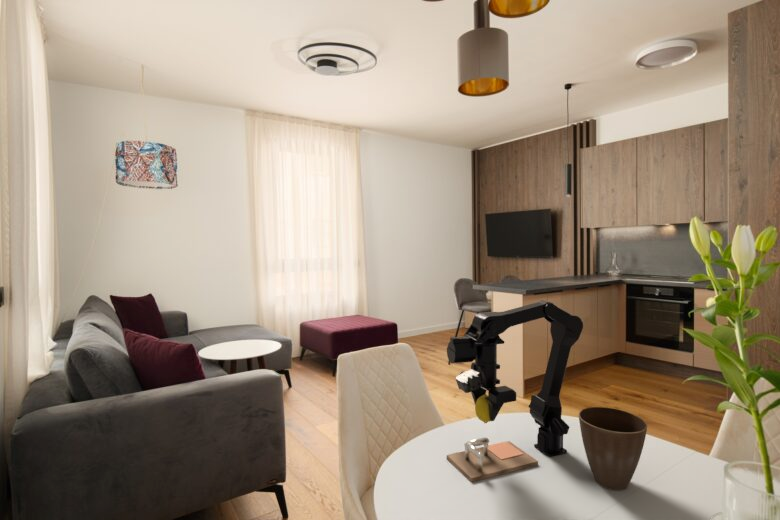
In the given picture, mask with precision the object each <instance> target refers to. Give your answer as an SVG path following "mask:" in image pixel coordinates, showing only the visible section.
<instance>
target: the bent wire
mask: <svg viewBox="0 0 780 520" xmlns="http://www.w3.org/2000/svg"><path fill="white" fill-rule="evenodd" d="M489 443H490V439H489V438H488V437H482V438H477V439H472V440H467V441H465V442H464V451H465V460H469V456H470V451H471V452H472V453H473V454H474V455H475V456H477V457H478V471H479V472H482V471H483V456H488V445H489ZM479 446H483V447H484V455H483V453H482V452H481V451H479V450H478V449H477V448H478V447H479Z"/></svg>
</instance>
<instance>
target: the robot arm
mask: <svg viewBox="0 0 780 520" xmlns="http://www.w3.org/2000/svg"><path fill="white" fill-rule="evenodd" d="M542 318H543V319H544V320H545V321H546V322H549V323H550V329H549V330H550V335H551V340H552V343H551V348H550V352H549V356H548V361H547V363H546V370H545V374H544V377H543V382H542V386H541V389H540V391H539V392H538V393H537V394H533V393H532V394H531V395H530V396H531V397H530V403H529V404H528V408H529V414H530V415H531V417H532V418H533V420H534V423H535V424H536V425H539V427H538V433H537V437H536V438H537V443H535V444H533V446H534V447H535V448H536V449H537V450H539V451H541V452H542V453H544V454H545V455H547V456H548V457H554V456H557V455H558V456H559V455H562V454H566V453H568V450H567V449H566V448H564V435H567V434H568V433H569V429H570V426H569V424H567V423H566V422H565V420H564V419H562V413H563V412H562V409H563V408H562V403H561V398H560V395H561V390H562V385H563V382H564V379H565V374H566V371H567V370H566V369H567V366H568V362H569V357H570V354H571V353H570V352H571V349H572V347H573V346H574V344H575V343H576V342H578V341H579V339H580V336H581V334H582V332H583V330H584V322H583V321H582V318H580V317H579V316H578V315H574V314H570V313H569V312H567V311H565V310H564V309H562V308H560V307H558V306H557V305H555V303H553V302H550V301H547V300H539V301H537V302H533V303H529V304H526V305H523V306H519V307H515V308H512V309H508V310H504V311H484V312H478V313H476V314H475V315H474V317H473V319H472V322H471V324H470V326H469V327H468V328H467V330H466V331H465V333H464V335H463V336H451V337H450V338H449V341H448V344H447V347H446V355H447V359H448V361H449V363H450V364H452V365H453V364H461V363H462V364H463V363H471V365H470V369H468V370H465V371H461V372H460V373H459V374H458V375H456V377H455V382H456V385H457V386H458V389H459V390H461V391H462V392H464V393H465V394H469V393H471V396H472V398H473V403H474V405H476V401H477V399H478V398H479V397H480V396H482V395H484V394H487V392H488V394H487V395H488V396H489V397H486V398H484V399H485V400H486V401H487V402H488V404H489V416H490V421H489V422H494V421H496V418H497V416H498V414H499V412H500V410H501V409H502V407H503V405H504V404H507V403H512V402H516V401H517V392H516V390H514V389H513V388H511V387H509V386H507V385H500V384H501V380H500V379H499V378H498V377H497V374H498V373H497V372H498V371H497V370H499V369H501V365H500V364H498V361H497V359H498V358H497V357H498V350H497V349H498V347H497V345H504V344H505V341H504V340H503V339H502V338H501V337H500V335H501V334H503V333H505V332H506V330H508V329H510V328H512V327H515V326H518V325H522V324H525V323H529V322H532V321H536V320H538V319H542ZM497 385H500V386H497Z"/></svg>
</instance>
